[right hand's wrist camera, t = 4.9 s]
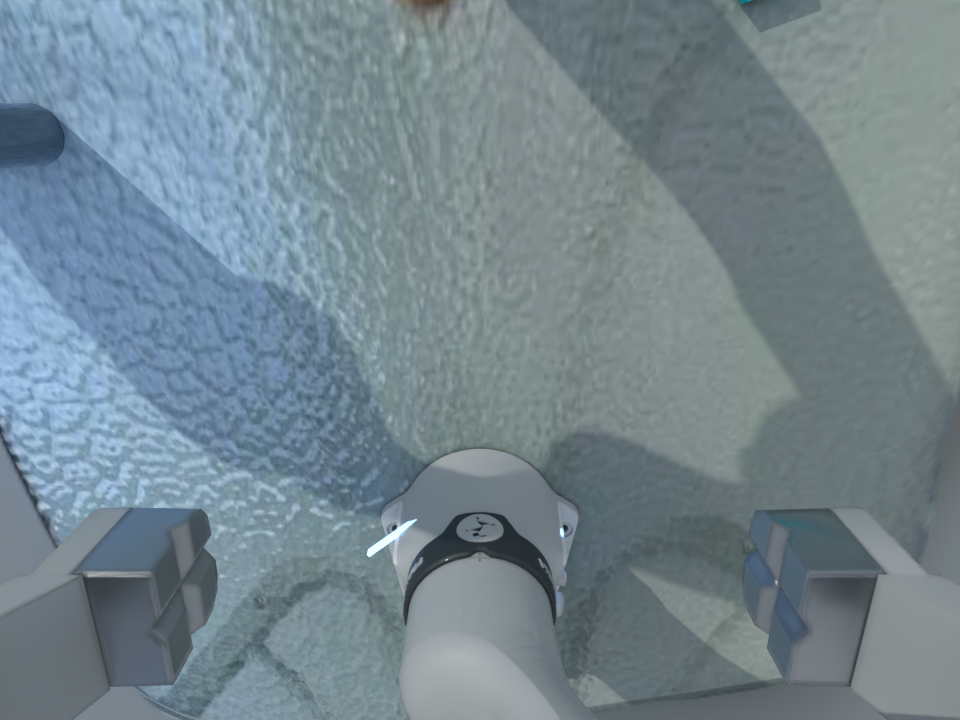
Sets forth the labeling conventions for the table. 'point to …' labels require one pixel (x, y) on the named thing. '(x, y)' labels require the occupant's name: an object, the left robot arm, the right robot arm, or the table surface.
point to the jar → (28, 136)
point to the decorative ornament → (743, 1)
